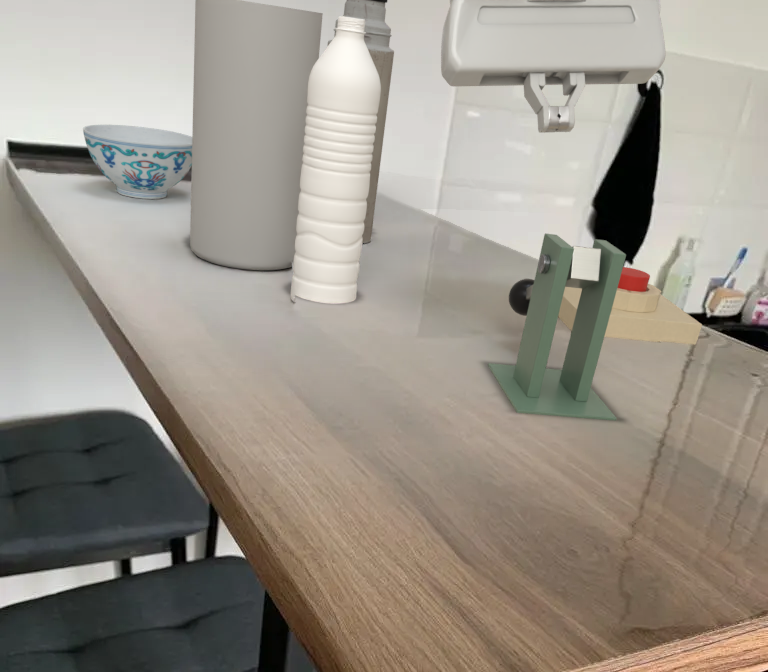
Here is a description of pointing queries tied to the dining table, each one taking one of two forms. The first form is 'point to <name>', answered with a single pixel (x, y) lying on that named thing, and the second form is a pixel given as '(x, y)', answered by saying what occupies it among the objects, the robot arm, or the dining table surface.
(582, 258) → the lever
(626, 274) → the stop button
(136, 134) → the chinaware
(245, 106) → the cylinder vase
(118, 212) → the dining table surface
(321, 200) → the water bottle
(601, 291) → the switch bracket
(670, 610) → the dining table surface
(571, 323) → the tan square base plate
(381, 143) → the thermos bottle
